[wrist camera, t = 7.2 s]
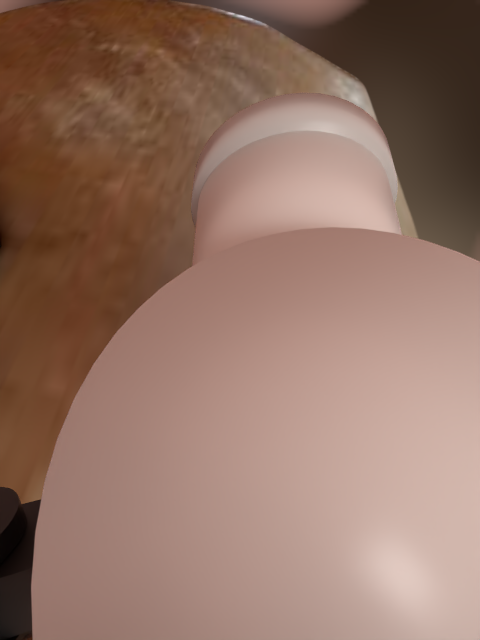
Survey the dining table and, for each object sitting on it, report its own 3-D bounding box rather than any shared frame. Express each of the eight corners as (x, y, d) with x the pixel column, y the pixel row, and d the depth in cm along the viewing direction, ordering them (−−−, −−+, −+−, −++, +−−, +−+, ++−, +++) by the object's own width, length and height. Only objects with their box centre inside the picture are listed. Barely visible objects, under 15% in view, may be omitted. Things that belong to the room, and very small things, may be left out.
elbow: (337, 527, 12) (1100, 1231, 1) (210, 523, 12) (-104, 1094, 1) (318, 327, 16) (475, 42, 5) (220, 327, 16) (148, 53, 5)
